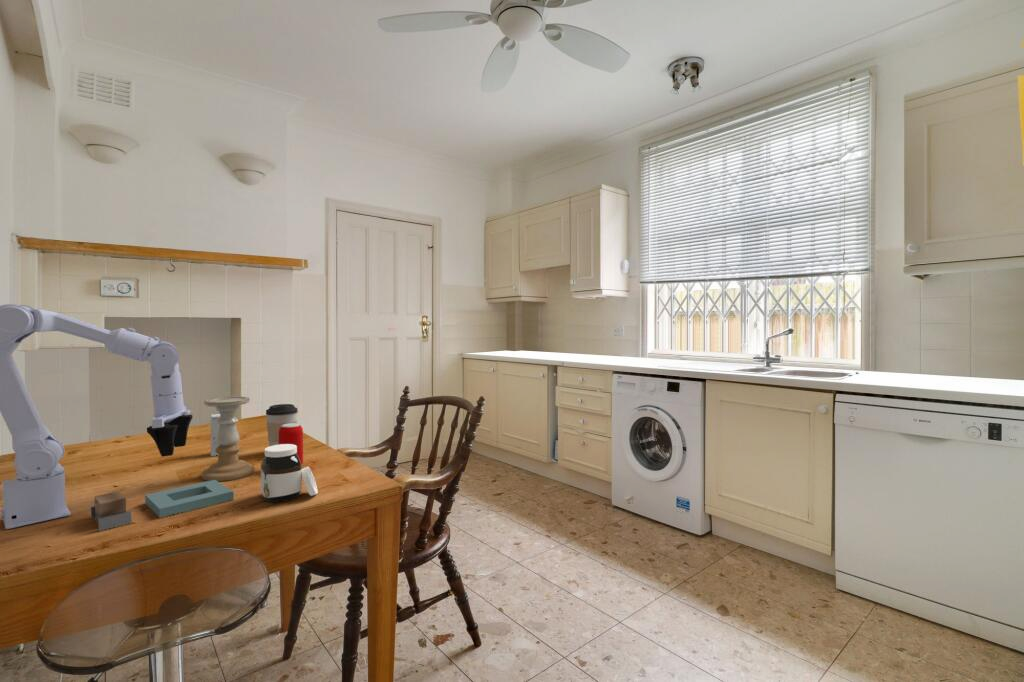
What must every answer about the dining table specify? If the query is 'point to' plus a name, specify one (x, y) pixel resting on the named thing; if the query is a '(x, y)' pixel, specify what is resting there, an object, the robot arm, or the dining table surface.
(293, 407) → the coffee cup
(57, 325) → the robot arm
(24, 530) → the dining table surface
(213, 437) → the skincare box
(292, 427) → the beverage can
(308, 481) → the spread jar
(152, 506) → the socket board
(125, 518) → the metal stand
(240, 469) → the candle holder
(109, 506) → the walnut block
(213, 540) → the dining table surface
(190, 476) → the dining table surface
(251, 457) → the dining table surface
